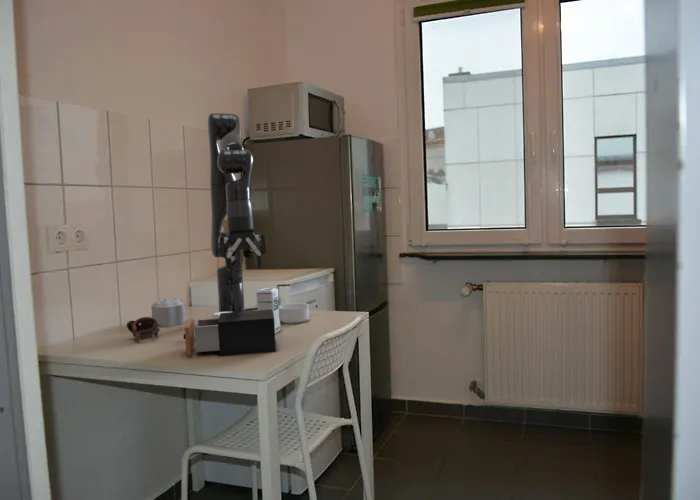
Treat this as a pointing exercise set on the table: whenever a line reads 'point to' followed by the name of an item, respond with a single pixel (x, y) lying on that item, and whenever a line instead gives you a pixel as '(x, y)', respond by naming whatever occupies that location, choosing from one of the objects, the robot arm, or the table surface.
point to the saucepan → (294, 312)
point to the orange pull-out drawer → (202, 335)
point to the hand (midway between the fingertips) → (244, 269)
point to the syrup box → (269, 304)
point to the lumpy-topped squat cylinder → (168, 312)
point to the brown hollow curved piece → (143, 328)
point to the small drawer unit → (246, 332)
